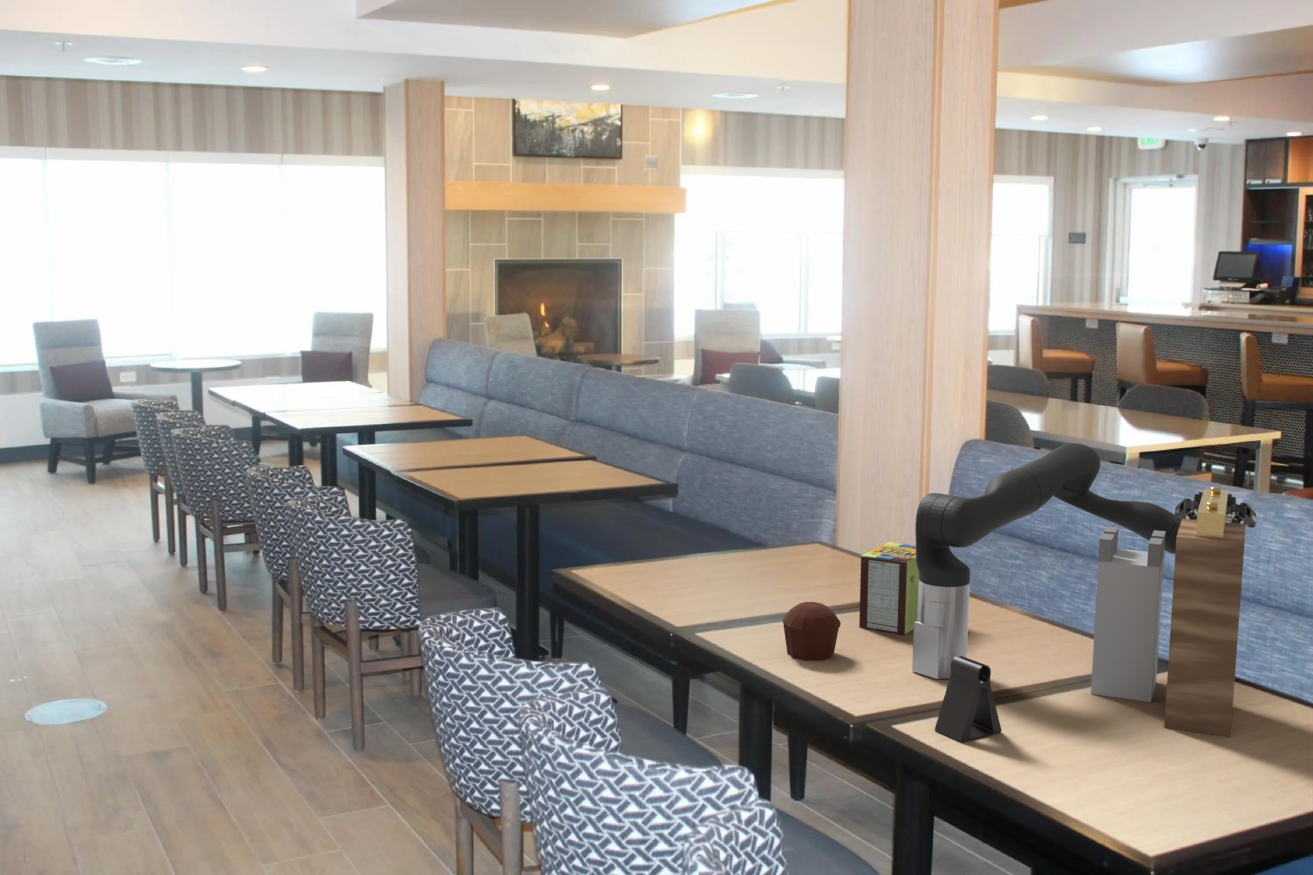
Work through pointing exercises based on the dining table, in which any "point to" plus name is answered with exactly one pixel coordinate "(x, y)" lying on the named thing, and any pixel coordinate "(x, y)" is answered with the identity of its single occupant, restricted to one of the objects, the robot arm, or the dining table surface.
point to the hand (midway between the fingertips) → (1215, 498)
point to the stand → (1204, 629)
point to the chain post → (1127, 618)
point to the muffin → (811, 631)
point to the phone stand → (968, 703)
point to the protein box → (889, 588)
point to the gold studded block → (1212, 513)
